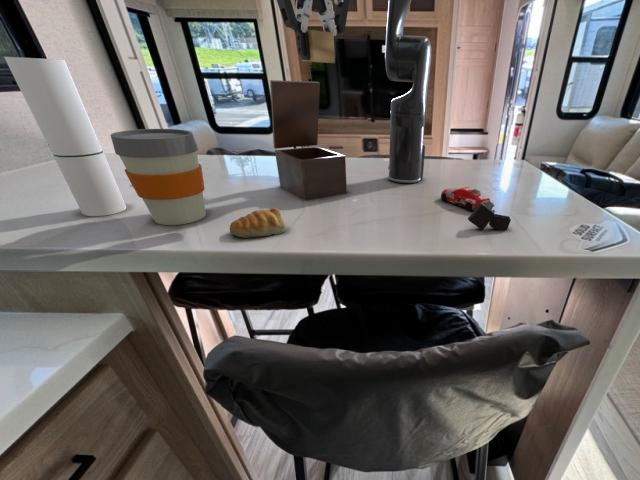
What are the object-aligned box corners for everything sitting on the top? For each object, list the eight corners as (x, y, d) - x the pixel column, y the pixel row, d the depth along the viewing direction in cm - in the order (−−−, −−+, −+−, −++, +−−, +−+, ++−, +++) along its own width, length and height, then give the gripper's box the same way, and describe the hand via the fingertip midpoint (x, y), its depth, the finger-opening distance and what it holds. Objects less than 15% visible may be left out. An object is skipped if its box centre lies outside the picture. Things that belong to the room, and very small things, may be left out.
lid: (319, 82, 78) (309, 75, 80) (271, 81, 71) (261, 73, 74) (317, 145, 88) (307, 136, 90) (275, 148, 81) (265, 139, 84)
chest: (347, 192, 85) (345, 155, 80) (305, 200, 78) (300, 160, 74) (319, 180, 93) (316, 146, 88) (280, 186, 87) (274, 150, 82)
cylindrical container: (122, 202, 72) (61, 59, 58) (130, 211, 68) (67, 60, 54) (79, 208, 68) (3, 56, 54) (85, 218, 64) (4, 56, 50)
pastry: (237, 243, 58) (232, 222, 55) (226, 231, 62) (221, 211, 60) (289, 232, 63) (286, 212, 61) (275, 221, 67) (272, 202, 65)
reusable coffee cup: (149, 209, 69) (118, 128, 61) (216, 204, 74) (196, 128, 65) (137, 232, 60) (98, 140, 51) (215, 224, 64) (191, 138, 56)
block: (322, 62, 64) (320, 33, 62) (335, 63, 62) (333, 32, 59) (301, 61, 62) (298, 31, 60) (313, 61, 59) (311, 30, 57)
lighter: (493, 237, 71) (511, 217, 69) (497, 241, 69) (515, 221, 67) (466, 217, 68) (483, 196, 66) (469, 221, 66) (487, 199, 64)
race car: (436, 199, 84) (437, 183, 82) (451, 196, 87) (453, 180, 84) (476, 214, 75) (480, 196, 73) (491, 210, 78) (495, 193, 76)
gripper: (274, -95, 46) (292, 58, 56) (359, -67, 54) (361, 63, 64) (252, -82, 50) (272, 58, 60) (334, -58, 58) (340, 62, 68)
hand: (318, 60), depth 62 cm, fingers closed on block, 4 cm apart
